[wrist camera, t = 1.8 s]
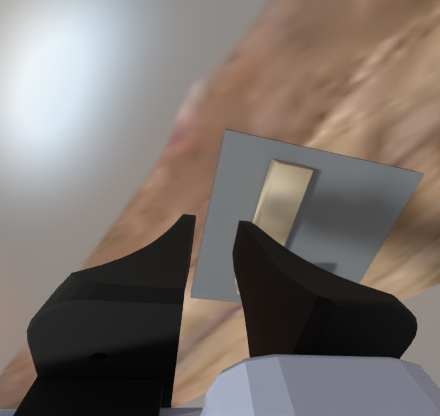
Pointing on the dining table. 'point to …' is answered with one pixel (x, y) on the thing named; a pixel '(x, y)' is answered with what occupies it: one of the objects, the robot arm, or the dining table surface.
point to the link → (281, 199)
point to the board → (300, 209)
